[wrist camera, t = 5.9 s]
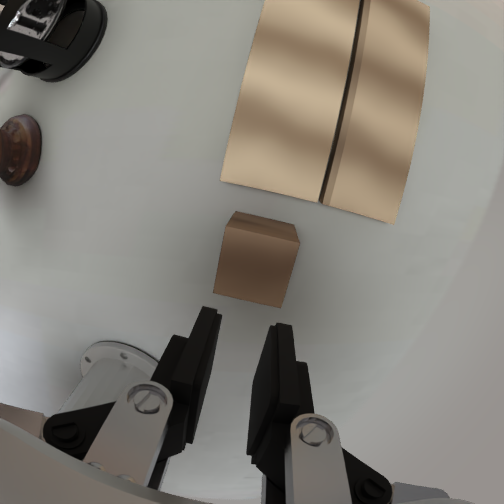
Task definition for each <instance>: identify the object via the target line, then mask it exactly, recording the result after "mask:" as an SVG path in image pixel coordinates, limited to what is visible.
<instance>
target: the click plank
mask: <svg viewBox="0 0 504 504" xmlns="http://www.w3.org/2000/svg"><path fill="white" fill-rule="evenodd" d="M359 1H360V0H265V2H264V5H263V9H262V12H261V15H260V19H259V22H258V26H257V29H256V33H255V36H254V40H253V44H252V47H251V51H250V55H249V58H248V62H247V66H246V70H245V74H244V77H243V81H242V85H241V89H240V93H239V97H238V102H237V106H236V110H235V114H234V118H233V123H232V127H231V131H230V136H229V140H228V145H227V149H226V154H225V158H224V163H223V168H222V172H221V177H220V181H224V182H229V183H234V184H239V185H244V186H248V187H253V188H258V189H262V190H267V191H271V192H275V193H280V194H284V195H288V196H292V197H297V198H301V199H305V200H309V201H313V202H318V198H319V194H320V190H321V186H322V182H323V178H324V174H325V170H326V166H327V162H328V158H329V154H330V150H331V146H332V141H333V137H334V133H335V128H336V124H337V120H338V115H339V110H340V106H341V101H342V96H343V92H344V87H345V82H346V77H347V72H348V66H349V61H350V56H351V50H352V45H353V39H354V33H355V27H356V21H357V15H358V8H359Z"/></svg>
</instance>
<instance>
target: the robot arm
mask: <svg viewBox="0 0 504 504" xmlns="http://www.w3.org/2000/svg"><path fill="white" fill-rule="evenodd" d="M221 319H222V314H217V309H213V308H209V307H205V306H203V307H202V309H201V311H200V313H199V316H198V318H197V320H196V322H195V325H194V327H193V329H192V332H191V334H190V336H189V338H185V337H182V336H178V335H173V336H172V338H171V340H170V342H169V343H168V345H167V347H166V349H165V351H164V353H163V355H162V357H161V359H160V361H159V363H157V362H156V361H155V360H154V359H152V358H151V357H149V356H148V355H146V354H145V353H143V352H141V351H139V350H137V349H135V348H133V347H130V346H127V345H125V344H120V343H116V342H100V343H96V344H94V345H92V346H91V347H90V348H88V349H87V351H86V352H85V353H84V354H83V356H82V359H81V364H80V368H81V373H82V377H83V379H82V380H81V382H80V383H79V384H78V386H77V387H76V388H75V390H74V391H73V392H72V394H71V395H70V397H69V398H68V399H67V401H66V402H65V404H64V405H63V406H62V408H61V409H60V411H59V412H58V413H57V414H55V415H53V416H51V417H50V418H49V417H45V416H44V414H43V413H39V412H35V411H30V410H26V409H22V408H18V407H14V406H10V405H6V404H3V403H0V504H212V503H206V502H201V501H197V500H192V499H188V498H184V497H180V496H176V495H172V494H168V493H165V492H161V491H160V489H161V486H162V483H163V480H164V477H165V474H166V471H167V467H168V464H169V461H170V457H171V456H173V455H176V454H178V453H181V452H182V450H184V449H185V445H186V443H190V444H192V443H193V440H194V436H195V432H196V428H197V424H198V420H199V417H200V413H201V409H202V405H203V401H204V397H205V394H206V390H207V386H208V382H209V378H210V374H211V370H212V365H213V360H214V355H215V349H216V344H217V339H218V334H219V329H220V324H221ZM247 455H251V456H252V460H251V464H256V467H257V468H258V469H259V470H260V471H261V472H262V473H263V475H262V492H261V504H474V503H472V502H468V501H465V500H460V499H452V498H449V496H448V494H447V493H446V492H444V491H443V490H441V489H437V488H429V487H422V486H415V485H410V484H404V483H399V482H395V483H393V484H390V483H389V481H388V480H387V479H386V478H385V477H384V476H382V475H381V474H379V473H378V472H376V471H375V470H373V469H372V468H371V467H369V466H367V465H366V464H365V463H363V462H362V461H360V460H359V459H357V458H356V457H354V456H353V455H352V454H350V453H349V452H347V451H346V450H345V449H343V448H342V447H341V442H340V438H339V433H338V430H337V428H336V426H335V425H334V424H333V422H332V421H330V420H329V419H327V418H326V417H324V416H321V415H318V414H314V406H313V399H312V393H311V386H310V379H309V373H308V366H307V363H306V362H299V361H296V356H295V347H294V338H293V330H292V325H287V324H282V323H276V325H275V326H272V325H270V328H269V331H268V334H267V337H266V341H265V344H264V347H263V350H262V354H261V357H260V360H259V363H258V366H257V370H256V373H255V376H254V379H253V385H252V396H251V407H250V419H249V430H248V441H247Z"/></svg>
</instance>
